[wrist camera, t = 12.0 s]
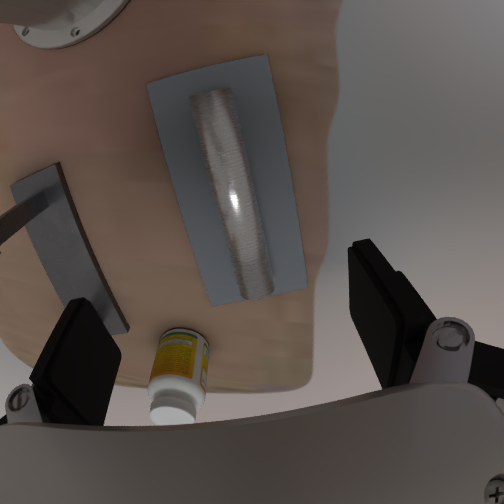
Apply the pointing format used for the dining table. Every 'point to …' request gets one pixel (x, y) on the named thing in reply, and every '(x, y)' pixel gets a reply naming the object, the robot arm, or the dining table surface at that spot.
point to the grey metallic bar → (233, 190)
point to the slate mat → (261, 166)
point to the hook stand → (61, 243)
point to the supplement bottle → (178, 377)
